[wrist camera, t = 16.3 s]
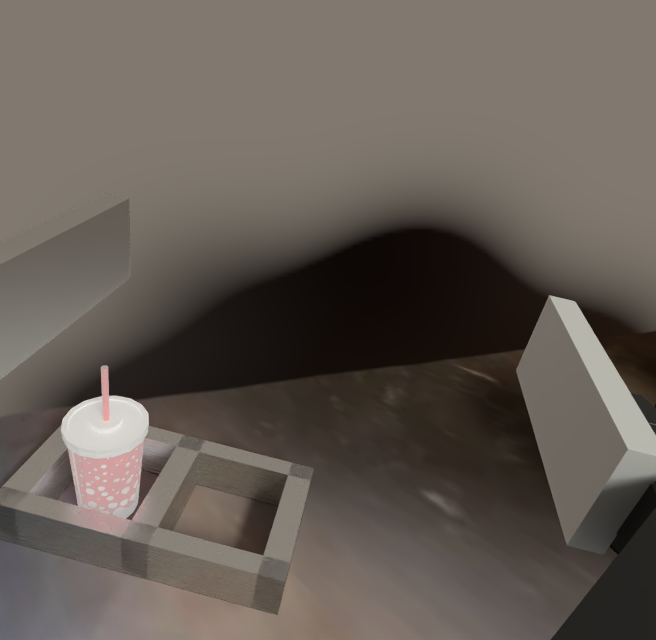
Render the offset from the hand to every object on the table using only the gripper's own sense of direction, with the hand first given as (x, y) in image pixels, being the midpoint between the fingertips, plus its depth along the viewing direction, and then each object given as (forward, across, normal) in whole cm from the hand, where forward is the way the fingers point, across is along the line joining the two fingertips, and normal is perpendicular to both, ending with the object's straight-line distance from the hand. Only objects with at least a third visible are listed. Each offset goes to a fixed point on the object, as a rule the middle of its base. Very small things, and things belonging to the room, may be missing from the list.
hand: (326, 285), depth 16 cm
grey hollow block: (+13, -10, -30) cm, 35 cm away
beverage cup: (+13, -16, -31) cm, 37 cm away
